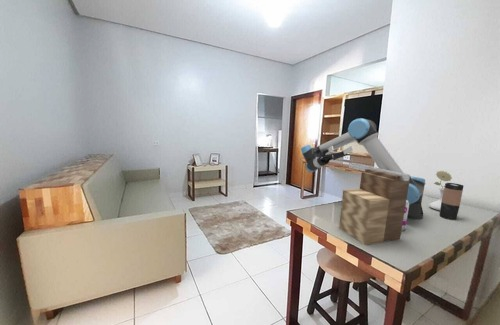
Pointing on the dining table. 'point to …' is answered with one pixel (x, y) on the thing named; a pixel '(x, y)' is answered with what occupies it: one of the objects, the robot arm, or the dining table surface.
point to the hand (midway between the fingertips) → (342, 148)
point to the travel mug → (451, 201)
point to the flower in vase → (443, 177)
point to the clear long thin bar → (362, 167)
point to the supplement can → (405, 215)
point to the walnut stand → (374, 208)
